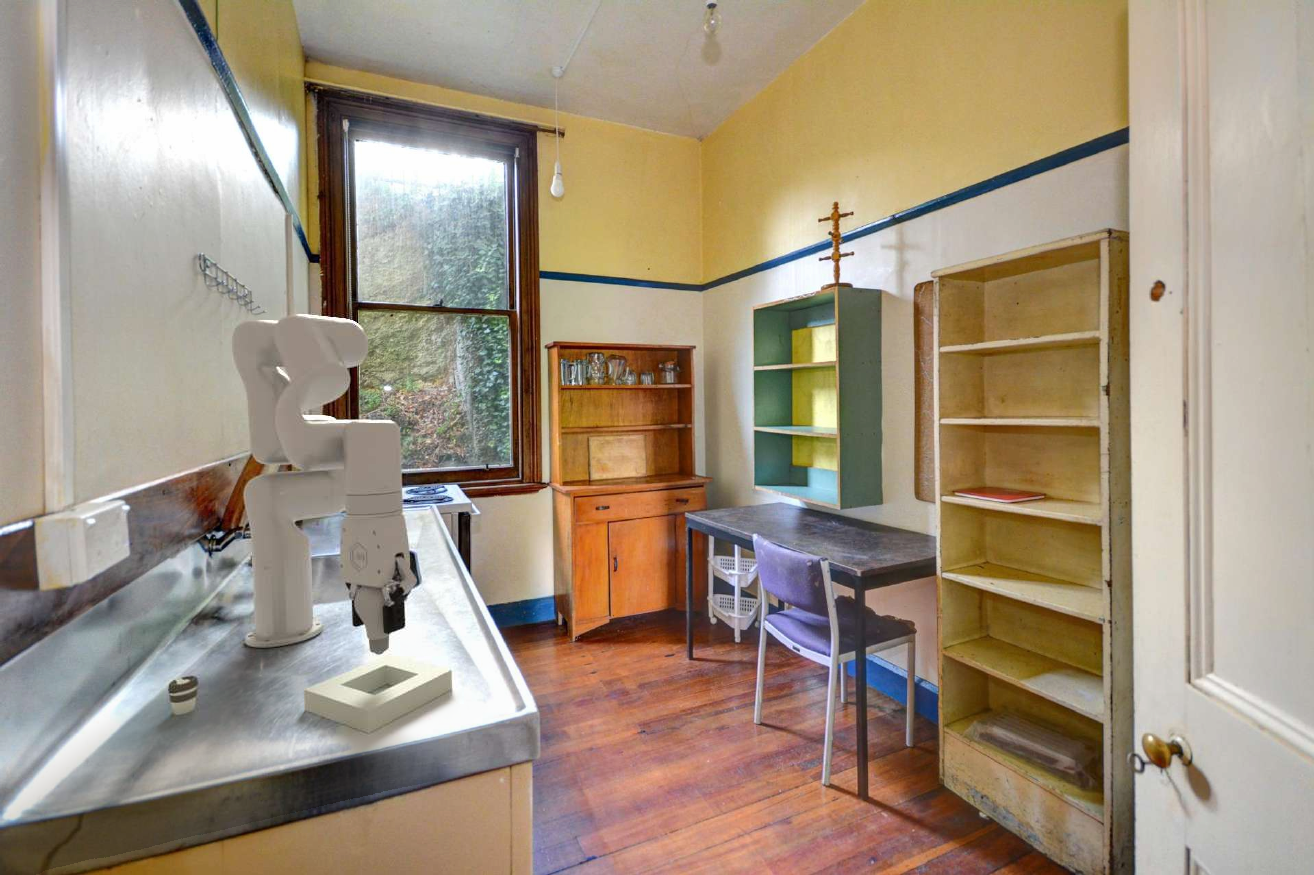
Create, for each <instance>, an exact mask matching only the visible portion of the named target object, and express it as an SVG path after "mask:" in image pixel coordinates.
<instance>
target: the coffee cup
mask: <svg viewBox="0 0 1314 875" xmlns="http://www.w3.org/2000/svg"><path fill="white" fill-rule="evenodd" d="M198 685H199V680H198V677H197V676H194V675H188V676H180V677H179V678H177V679H174V678H173V680H172V681H170V682H169V684H168V689H167V691H168V692H167V693H168V694H169V700H170V703H171V709H172V714H173V715H176V716H180V715H185V714H188V713H190V712H192V711H194V710H195V709H196V701H197V695H198V687H197V686H198Z"/></svg>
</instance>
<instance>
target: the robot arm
mask: <svg viewBox="0 0 1314 875" xmlns="http://www.w3.org/2000/svg"><path fill="white" fill-rule="evenodd" d="M368 341H369V340H368V337H367V334H366V332H365V330H364V329H363V328H362V326H361V325H360V324H358V323H357V322H356V321H354V320H350V319H349V318H348V319H346V318H339V317H330V316H322V315H320V316H319V315H314V314H301V313H300V314H299V313H297V314H290V315H287V316H284V317H283V318H281V319H279V320H269V319H255V320H254V319H253V320H251V319H250V320H246V321H243V322H240V323H239V324H238V325H236V326H235V328H234V330H233V333H232V339H231V349H232V350H231V351H232V356H233V361H234V364H235V366H236V370H237V372H238V374H239V376H240V379H241V381H242V384H243V386H244V390H245V394H246V401H247V413H248V414H247V415H248V431H249V432H248V433H249V443H250V451H251V454H252V457H253V458H254V460H255V462H258V463H259V464H262V465H267V466H268V465H269V466H281V465H285V466H286V465H292V467H294V468H295V469H297V470H289V471H288V470H287V471H276V472H267V473H263V474H260V475H257V476H255V477H253V478H251V479H249V481H248V482H247V483H246V484H245V486H244V490H243V502H244V506H245V507H244V508H245V511H246V516H247V520H248V521H247V522H248V525H249V530H250V531H249V532H250V541H251V542H250V543H251V559H252V560H251V561H252V564H251V566H252V587H253V614H251V616H250V621H252V622H254V629H253V630H252V631H250V632H248V633H247V634H246V636H244V637H245V638H244V640H245V641H244V642H245V644H246V645H247V646H248V647H252V648H260V649H261V648H262V649H263V648H274V647H281V646H282V647H285V646H288V645H293V644H296V643H302V642H304V641H307V640H309V639H312V638H314V637H316V636H318V635H319V634H320V633H322V631H323V629H324V628H323V627H324V625H323V624H324V623H323V622H322V621H320V620H317V619H314V603H313V602H314V600H313V577H312V576H313V574H312V572H313V570H312V569H313V568H312V549H311V548H312V547H311V546H312V545H311V541H310V539H309V537H308V536H307V535H306V533H305V532H304V531H303V530H302V529H300V528H299V527H298V526H297V525H296V523H295V522H297V521H302V520H307V519H314V518H315V519H316V518H323V517H331V516H335V515H339V514H341V513H342V512H343V511H345V514H344V516H343V519H342V525H341V531H340V532H341V533H340V544H339V574H340V575H339V576H340V579H341V580H342V581H343V582H345V586H346V587H347V589H348V591H349V592H348V598H349V599H350V600H351V618H352V619H351V620H352V621H351V622H352V627H355V628H358V627H361V626H365V625H364V623H363V621H362V620H361V618H360V617H359V615H358V614H357V612H356V610H355V606H354V600H355V596H356V593H357V592H358V590H359V589H360V588H361V587H362V586H367V587H373V588H381V589H382V592H383V595H384V599H385V602H386V605H385V606H383V631H384V633H385V634H390V635H391V634H392V633H395V632H397V631H400V630H403V629H405V627H406V612H405V611H406V610H405V609H406V607H405V606H406V605H405V604H406V603H405V602H406V601H408V596H409V595H410V594H411V592H412V589H414V587H415V586H416V584H417V582H418V578H417V577H416V576H415V574H414V572H413V571H412V569H411V558H410V556H411V554H410V544H409V536H408V529H407V523H406V518H405V514H404V505H403V504H404V503H403V475H402V471H403V470H402V448H401V447H402V446H401V444H402V443H401V430H400V426H399V424H398V423H396V421H394V420H393V421H392V420H387V419H373V420H372V419H336V418H335V417H332V416H329V415H324V414H323V415H322V414H321V415H319V414H317V415H312V414H311V415H310V414H309V415H308V414H307V415H304V414H303V413H305V412H308V411H312V410H314V409H317V408H319V407H322V406H324V405H327V404H330V403H331V402H334V401H336V400H338V398H341V396H343V395H344V394H345V393H346V392H347V391H348V389H349V387H350V383H351V375H350V372H349V370H348V369H349V368H354V367H357V366H359V365H361V364H363V362H364V361H365V360H366V358H367V356H368V351H369V342H368ZM280 368H284V369H285V372H286V373H285V372H284V371H283V370H282V369H280ZM393 586H395V587H396V590H395V591H394V593H393V594H392V592H391V588H390V587H393Z"/></svg>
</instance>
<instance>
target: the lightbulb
mask: <svg viewBox="0 0 1314 875" xmlns="http://www.w3.org/2000/svg"><path fill="white" fill-rule="evenodd" d="M390 588H391V592H392V594H393V593H394V591H395V590H396V587H395V586H393V587H390ZM353 600H354V599H353ZM385 605H386V602H385V599H384V595H383V592H382V589H381V588H373V587H367V586H362V587H361V588H360V589H359V590H358V592H357V593H356V596H355V600H354V606H355V610H356V612H357V614H358V615H359V617H360V618H361V620H362V621H363V623H364V625H363V626H364V627H365V630H366V637H367V639H368V643H369V644H368V645H369V651H370V653H373V654H375V655H378V656H379V655H382V654H384V652H385V651H387V650H388V649H389V647H390V646H389V645H390V635H391V633H390V634H385V633H384V631H383V606H385Z"/></svg>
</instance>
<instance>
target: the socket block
mask: <svg viewBox="0 0 1314 875" xmlns="http://www.w3.org/2000/svg"><path fill="white" fill-rule="evenodd" d="M452 672H453V671H452V669H450V668H447V667H441V666H438V665H434V664H430V663H426V662H422V661H418V660H415V659H411V658H406V657H404V656H399V655H396V654H392V653H388V654H387V655H385V656H384V655H383V656H382V657H379V658H377V659H374V660H372V661H370V662H367V663H364V664H362V665H360V666H358V667H357V666H356V667H355V668H353V669H350V670H348V671H346V672H343V673H341V674H338V675H335V676H333V677H331V678H329V679H325V680H324V681H321V682H318V683H316V684H313V685H311V686H309V687H306V688H304V689H303V696H304V697H303V699H304V700H303V701H304V711H306V712H309V713H311V714H314V715H317V716H319V717H322V718H325V719H328V720H330V721H334V722H336V723H339V724H342V725H345V726H348V727H349V728H350V727H351V728H353V729H355V730H359V731H361V732H364V733H367V734H371V733H372V732H374V731H376V730H378V729H380V728H382V727H384V726H385V725H388V724H389V723H391V722H393V721H395V720H397V719H399V718H401V717H402V716H403V717H404V715H406V714H408V713H410V712H412V711H414V710H416V709H417V708H420V707H421V706H423V705H425V704H427V703H429V702H431V701H433V700H435V699H437V698H438V697H441V696H443V695H445V694H446V693H448V692H450V691H452V690H453V675H452V674H453V673H452ZM385 685H388V686H391V687H389V688H386V689H384V690H382V691H380V692H378V693H375V694H371V693H370V692H373V691H375V690H377V689H379V688H381V687H383V686H385Z"/></svg>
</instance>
